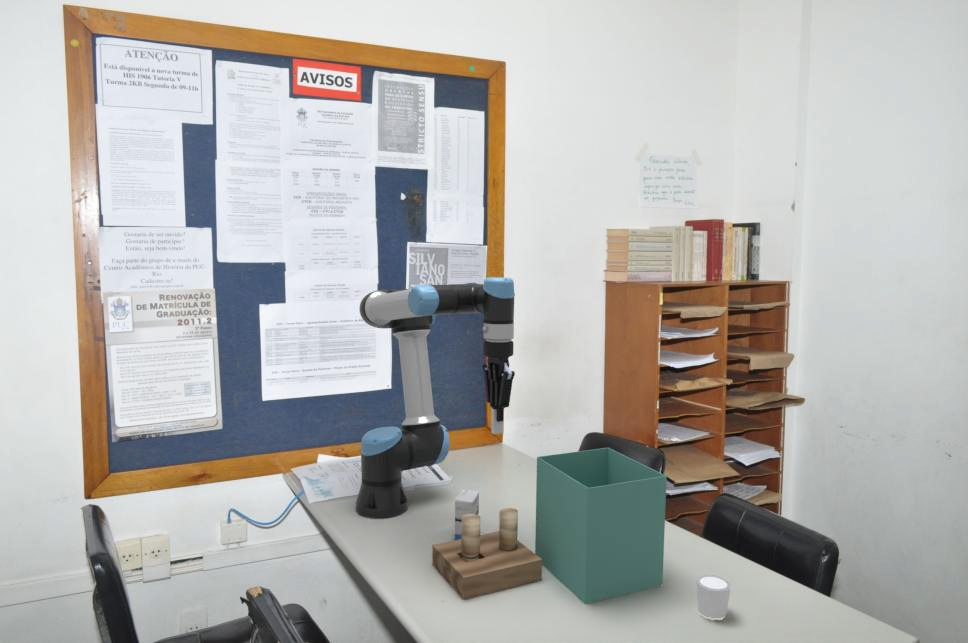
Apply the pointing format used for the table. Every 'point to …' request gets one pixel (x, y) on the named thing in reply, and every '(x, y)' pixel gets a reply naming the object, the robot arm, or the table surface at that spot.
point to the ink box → (465, 508)
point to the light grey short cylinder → (712, 596)
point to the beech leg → (470, 537)
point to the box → (600, 522)
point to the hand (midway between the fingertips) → (497, 432)
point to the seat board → (489, 561)
